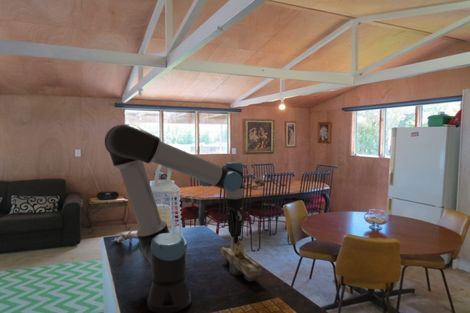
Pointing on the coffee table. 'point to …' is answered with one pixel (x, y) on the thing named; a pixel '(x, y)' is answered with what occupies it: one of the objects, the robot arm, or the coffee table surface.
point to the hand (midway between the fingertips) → (234, 250)
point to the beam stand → (241, 265)
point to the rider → (239, 249)
